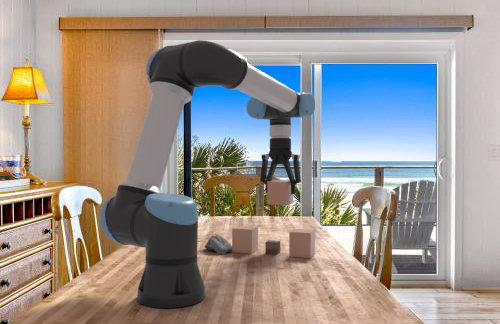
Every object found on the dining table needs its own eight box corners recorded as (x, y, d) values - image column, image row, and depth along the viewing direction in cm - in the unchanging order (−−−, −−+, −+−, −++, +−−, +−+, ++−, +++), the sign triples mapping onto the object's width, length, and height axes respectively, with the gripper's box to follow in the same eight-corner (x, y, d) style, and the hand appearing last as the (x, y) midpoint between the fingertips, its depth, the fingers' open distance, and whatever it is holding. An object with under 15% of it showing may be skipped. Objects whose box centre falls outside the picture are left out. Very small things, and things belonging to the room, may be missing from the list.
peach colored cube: (251, 253, 156) (251, 229, 156) (232, 252, 158) (232, 228, 158) (257, 249, 163) (258, 226, 163) (238, 248, 165) (238, 225, 165)
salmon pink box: (310, 258, 150) (310, 233, 150) (289, 256, 152) (289, 231, 152) (314, 253, 156) (314, 229, 156) (294, 252, 159) (294, 228, 158)
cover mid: (293, 203, 167) (293, 180, 167) (286, 205, 160) (286, 181, 160) (274, 202, 170) (274, 180, 170) (267, 204, 163) (267, 181, 163)
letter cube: (276, 255, 155) (277, 242, 155) (265, 254, 156) (265, 241, 156) (280, 252, 159) (280, 240, 158) (268, 251, 160) (269, 239, 160)
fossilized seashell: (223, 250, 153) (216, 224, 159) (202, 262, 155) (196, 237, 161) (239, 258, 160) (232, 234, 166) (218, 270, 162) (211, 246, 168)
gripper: (310, 137, 164) (310, 203, 164) (258, 138, 172) (258, 200, 173) (304, 136, 157) (304, 205, 158) (250, 137, 165) (250, 202, 166)
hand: (280, 202), depth 165 cm, fingers closed on cover mid, 7 cm apart
